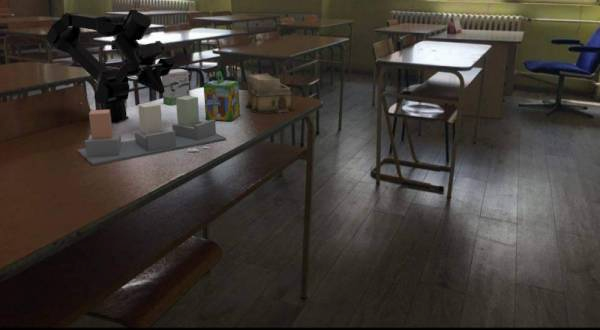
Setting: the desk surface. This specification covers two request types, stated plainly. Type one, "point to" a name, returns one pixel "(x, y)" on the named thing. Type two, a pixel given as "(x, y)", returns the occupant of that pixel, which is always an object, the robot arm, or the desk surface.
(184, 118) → the sage box
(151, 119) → the cream box
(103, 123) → the terracotta box
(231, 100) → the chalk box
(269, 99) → the miniature house
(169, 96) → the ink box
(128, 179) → the desk surface
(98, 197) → the desk surface
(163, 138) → the grey three-slot stand
